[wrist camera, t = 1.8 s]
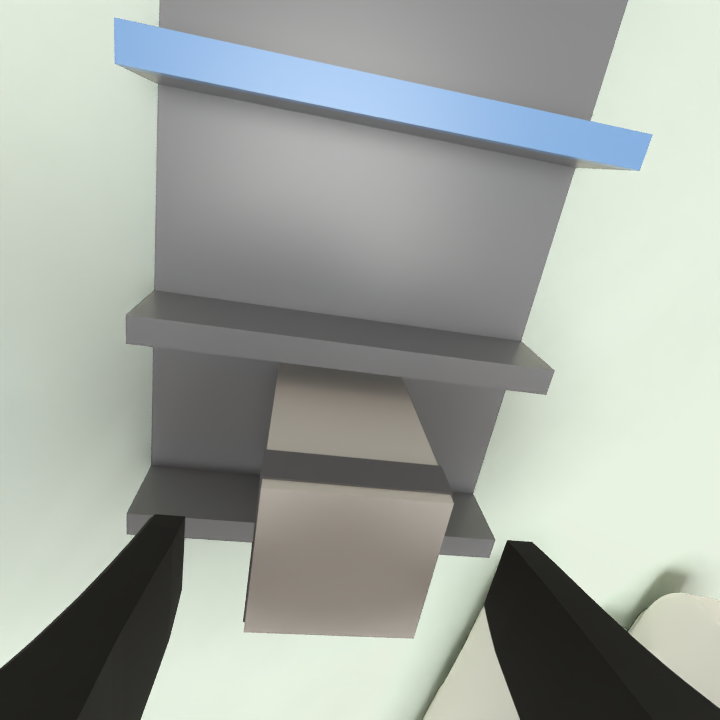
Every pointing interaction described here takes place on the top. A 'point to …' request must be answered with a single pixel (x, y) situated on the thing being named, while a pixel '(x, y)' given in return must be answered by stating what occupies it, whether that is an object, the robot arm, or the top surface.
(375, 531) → the beige block
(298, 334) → the grey slotted rack
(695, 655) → the cable organizer
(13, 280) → the top surface
